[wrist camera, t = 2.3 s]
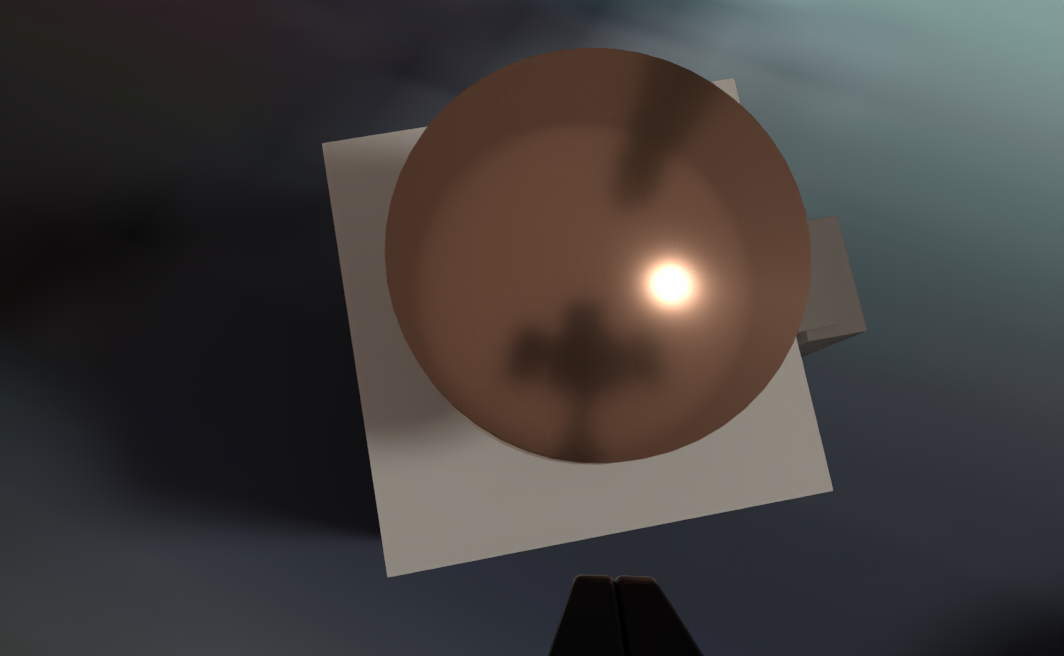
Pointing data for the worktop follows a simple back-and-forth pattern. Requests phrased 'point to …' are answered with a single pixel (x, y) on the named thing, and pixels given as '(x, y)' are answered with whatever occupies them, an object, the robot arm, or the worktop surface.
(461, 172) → the plunger
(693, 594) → the worktop surface
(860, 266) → the worktop surface
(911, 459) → the worktop surface
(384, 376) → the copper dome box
